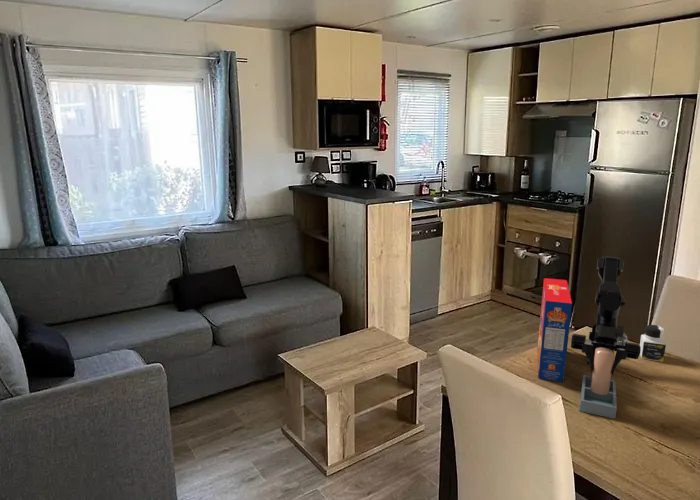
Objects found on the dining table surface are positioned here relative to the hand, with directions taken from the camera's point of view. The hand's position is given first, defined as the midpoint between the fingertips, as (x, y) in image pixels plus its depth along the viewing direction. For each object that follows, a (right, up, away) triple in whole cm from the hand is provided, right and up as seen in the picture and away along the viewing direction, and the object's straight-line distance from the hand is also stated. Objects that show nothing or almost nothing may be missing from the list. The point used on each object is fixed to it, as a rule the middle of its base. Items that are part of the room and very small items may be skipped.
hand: (602, 372), depth 151 cm
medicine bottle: (+38, -4, +39) cm, 55 cm away
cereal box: (-2, -5, +34) cm, 34 cm away
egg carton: (+29, -1, +50) cm, 58 cm away
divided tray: (+2, -11, +8) cm, 13 cm away
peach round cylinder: (+1, -6, +3) cm, 7 cm away
